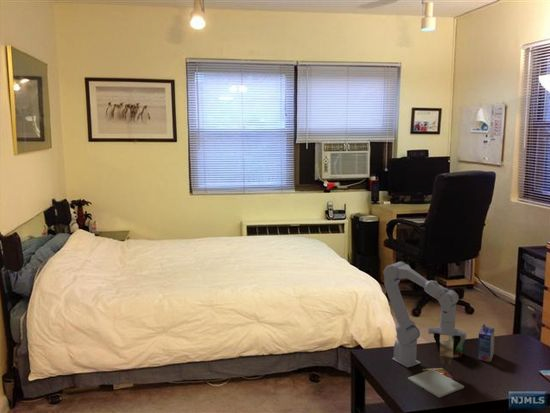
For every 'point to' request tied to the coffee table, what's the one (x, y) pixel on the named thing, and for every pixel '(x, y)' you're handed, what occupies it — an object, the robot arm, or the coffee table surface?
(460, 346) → the food container
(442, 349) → the beige cardboard carton
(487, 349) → the ink cartridge box
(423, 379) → the blue-grey board
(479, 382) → the coffee table surface
